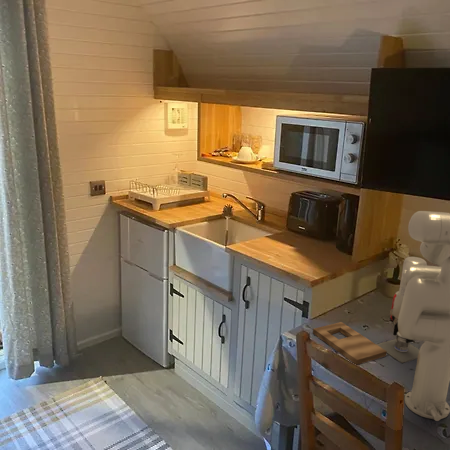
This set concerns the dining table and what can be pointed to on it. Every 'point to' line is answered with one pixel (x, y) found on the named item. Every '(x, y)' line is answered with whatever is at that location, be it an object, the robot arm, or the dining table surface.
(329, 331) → the puzzle board
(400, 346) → the pill bottle
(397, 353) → the mat
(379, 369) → the dining table surface
